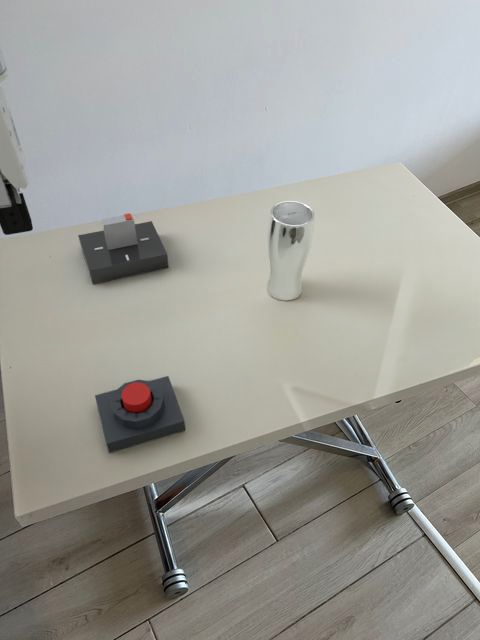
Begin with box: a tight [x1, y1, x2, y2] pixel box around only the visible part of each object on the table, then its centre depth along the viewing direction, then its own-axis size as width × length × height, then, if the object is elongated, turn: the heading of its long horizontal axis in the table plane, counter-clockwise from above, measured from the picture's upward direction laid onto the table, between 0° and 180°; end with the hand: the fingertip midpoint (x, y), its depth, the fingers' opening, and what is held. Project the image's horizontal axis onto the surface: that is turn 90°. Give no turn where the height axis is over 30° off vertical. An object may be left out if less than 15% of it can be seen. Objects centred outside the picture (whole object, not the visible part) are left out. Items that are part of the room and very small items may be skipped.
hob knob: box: [100, 212, 138, 250], centre depth 89 cm, size 5×2×5 cm, turn 113°
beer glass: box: [266, 200, 315, 302], centre depth 84 cm, size 7×7×15 cm
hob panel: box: [78, 220, 170, 285], centre depth 92 cm, size 13×10×3 cm
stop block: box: [94, 375, 186, 454], centre depth 70 cm, size 10×8×4 cm
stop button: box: [121, 383, 152, 413], centre depth 68 cm, size 4×4×2 cm
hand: (18, 228), depth 61 cm, fingers closed
